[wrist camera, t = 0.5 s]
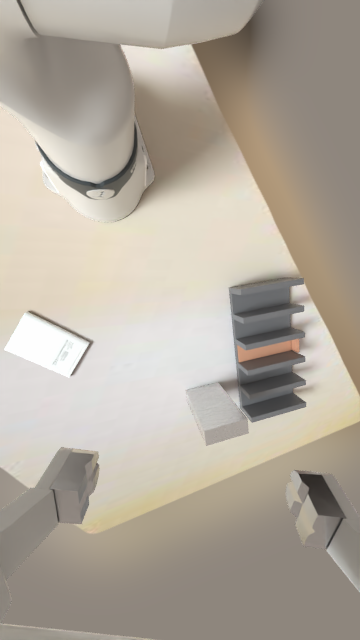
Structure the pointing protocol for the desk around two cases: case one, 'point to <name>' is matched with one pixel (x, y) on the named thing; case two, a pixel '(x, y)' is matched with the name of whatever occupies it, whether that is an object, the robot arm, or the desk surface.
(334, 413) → the desk surface
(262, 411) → the rack
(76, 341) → the external hard drive
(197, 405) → the panel
